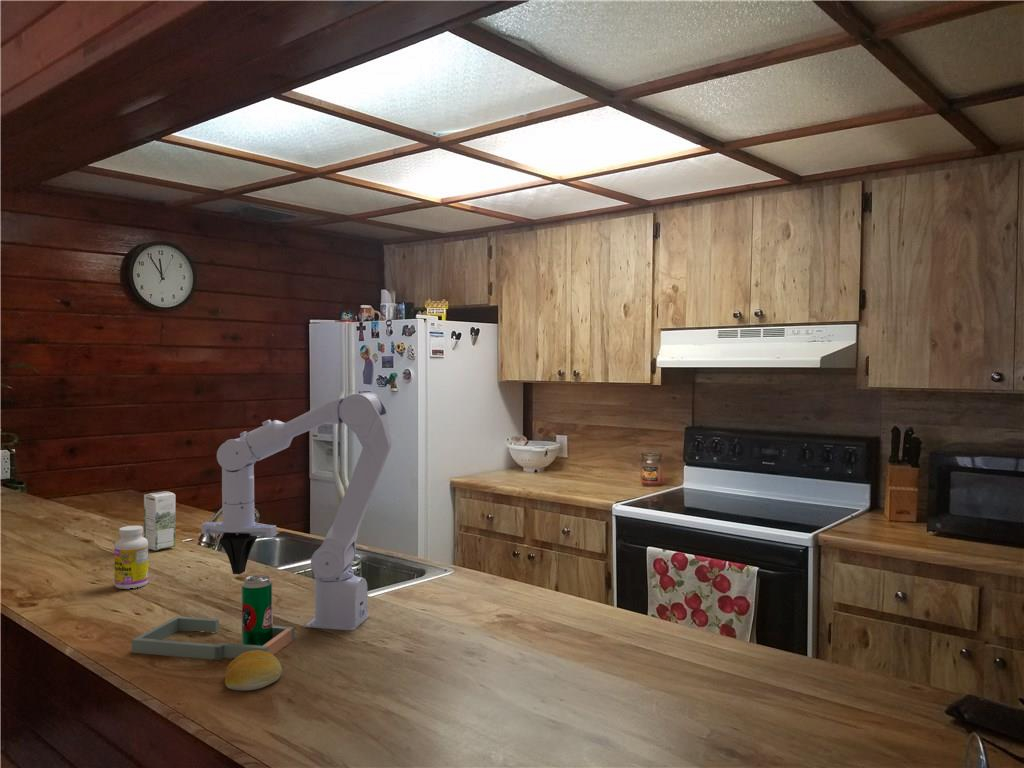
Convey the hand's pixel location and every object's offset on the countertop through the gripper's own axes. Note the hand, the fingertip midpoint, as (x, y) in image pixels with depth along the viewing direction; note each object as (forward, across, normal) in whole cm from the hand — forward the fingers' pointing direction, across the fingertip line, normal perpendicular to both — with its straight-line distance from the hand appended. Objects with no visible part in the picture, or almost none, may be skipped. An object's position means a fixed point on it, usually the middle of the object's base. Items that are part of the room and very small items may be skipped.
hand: (239, 572), depth 141 cm
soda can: (+10, -10, +11) cm, 18 cm away
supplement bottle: (+10, +36, -16) cm, 41 cm away
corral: (+9, -3, +12) cm, 16 cm away
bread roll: (+10, -20, +25) cm, 34 cm away
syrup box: (+10, +52, -47) cm, 71 cm away
